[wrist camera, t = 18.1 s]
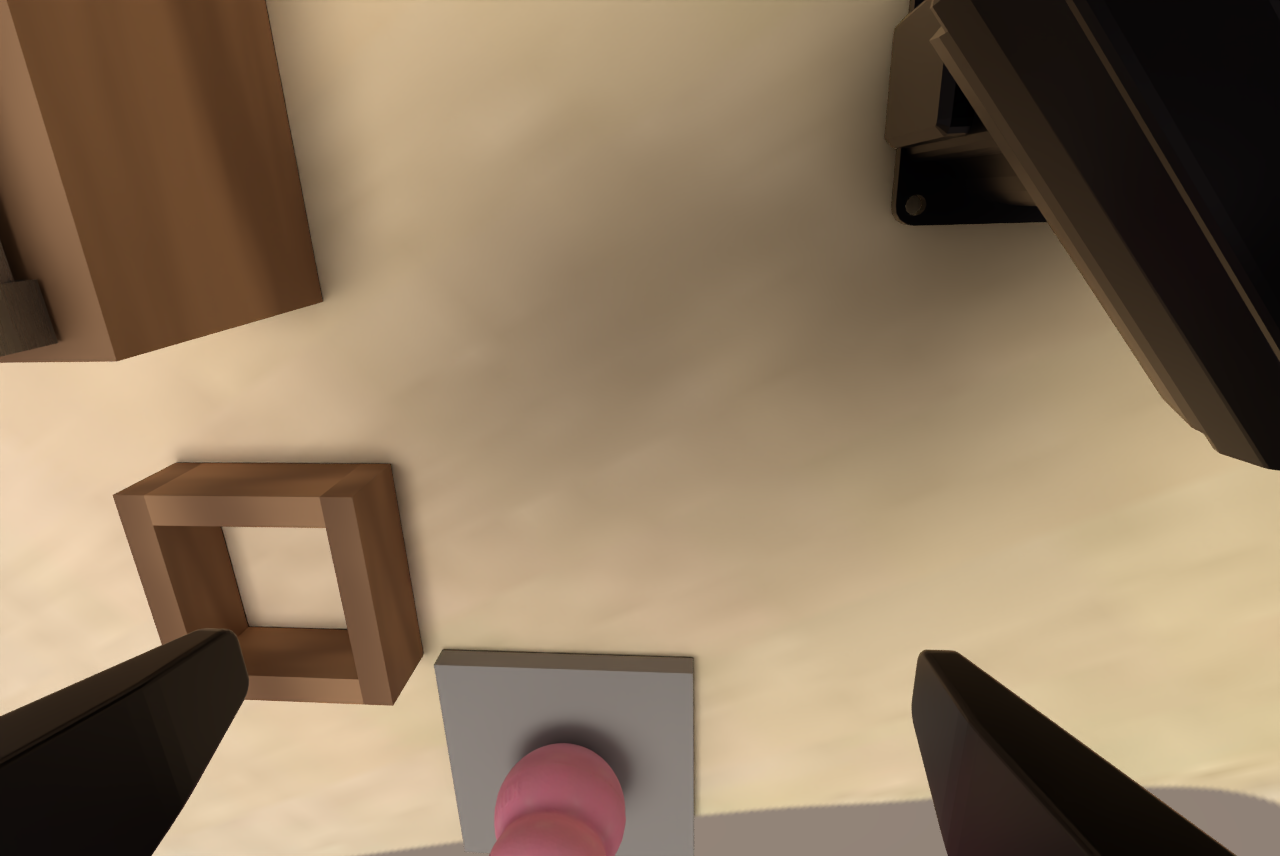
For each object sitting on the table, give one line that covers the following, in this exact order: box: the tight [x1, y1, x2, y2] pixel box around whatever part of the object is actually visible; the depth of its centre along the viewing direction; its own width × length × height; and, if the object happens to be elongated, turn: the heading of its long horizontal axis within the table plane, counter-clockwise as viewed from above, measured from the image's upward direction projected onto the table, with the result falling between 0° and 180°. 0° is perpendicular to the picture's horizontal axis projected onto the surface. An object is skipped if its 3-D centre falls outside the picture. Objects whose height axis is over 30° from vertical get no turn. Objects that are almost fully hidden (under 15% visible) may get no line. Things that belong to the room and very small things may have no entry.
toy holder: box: [0, 0, 423, 705], centre depth 17 cm, size 8×24×7 cm, turn 2°
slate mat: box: [434, 650, 694, 856], centre depth 24 cm, size 9×9×1 cm
